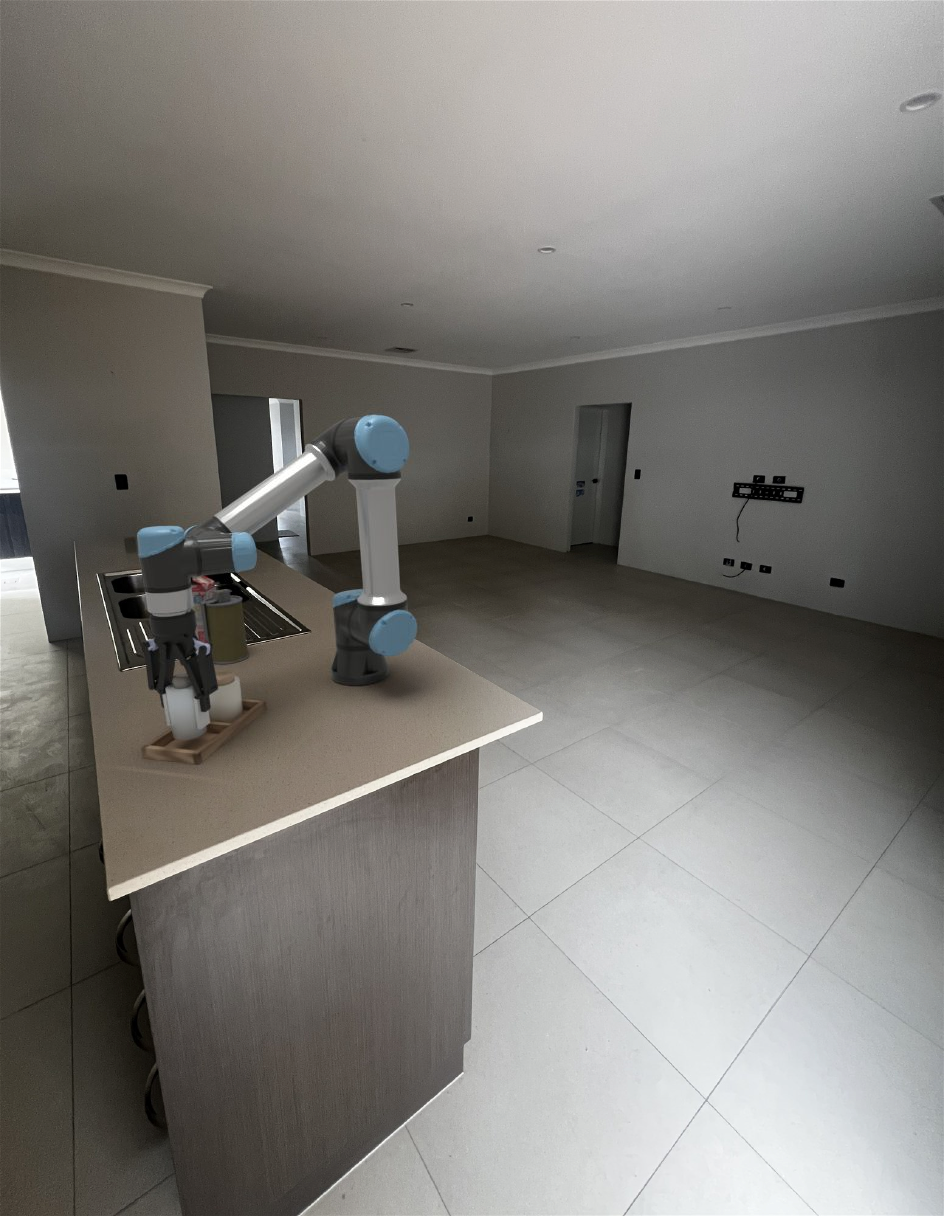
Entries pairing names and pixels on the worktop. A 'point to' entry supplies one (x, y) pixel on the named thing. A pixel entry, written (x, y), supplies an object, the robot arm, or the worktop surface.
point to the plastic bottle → (182, 708)
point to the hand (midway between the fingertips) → (188, 723)
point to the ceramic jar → (226, 699)
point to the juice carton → (200, 592)
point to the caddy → (202, 738)
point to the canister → (225, 627)
